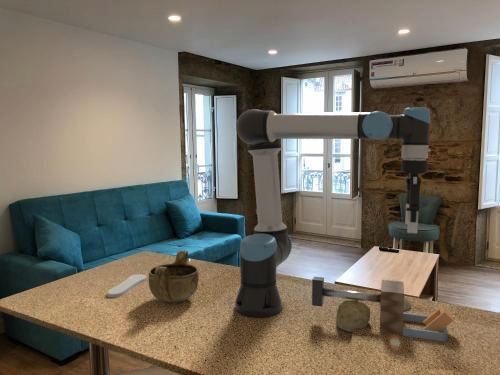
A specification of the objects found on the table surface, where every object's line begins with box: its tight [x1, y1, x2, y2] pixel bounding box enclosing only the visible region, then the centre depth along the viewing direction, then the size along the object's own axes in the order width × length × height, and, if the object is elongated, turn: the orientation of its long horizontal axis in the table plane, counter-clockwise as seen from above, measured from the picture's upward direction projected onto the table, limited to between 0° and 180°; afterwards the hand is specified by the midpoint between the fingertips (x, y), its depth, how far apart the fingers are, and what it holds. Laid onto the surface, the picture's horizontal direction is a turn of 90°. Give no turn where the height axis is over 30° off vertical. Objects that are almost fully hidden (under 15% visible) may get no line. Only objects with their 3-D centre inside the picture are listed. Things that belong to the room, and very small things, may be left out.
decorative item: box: [335, 299, 371, 333], centre depth 118 cm, size 10×10×10 cm
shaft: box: [311, 276, 381, 307], centre depth 119 cm, size 22×3×8 cm, turn 71°
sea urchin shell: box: [378, 295, 411, 311], centre depth 131 cm, size 9×8×8 cm
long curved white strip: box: [106, 274, 148, 299], centre depth 153 cm, size 7×22×2 cm, turn 167°
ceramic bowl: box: [148, 249, 200, 305], centre depth 139 cm, size 22×17×15 cm
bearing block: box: [379, 279, 405, 336], centre depth 116 cm, size 6×10×13 cm, turn 161°
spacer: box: [422, 305, 454, 332], centre depth 112 cm, size 3×5×7 cm
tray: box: [402, 312, 449, 343], centre depth 114 cm, size 11×11×4 cm
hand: (410, 228), depth 125 cm, fingers open, 13 cm apart
